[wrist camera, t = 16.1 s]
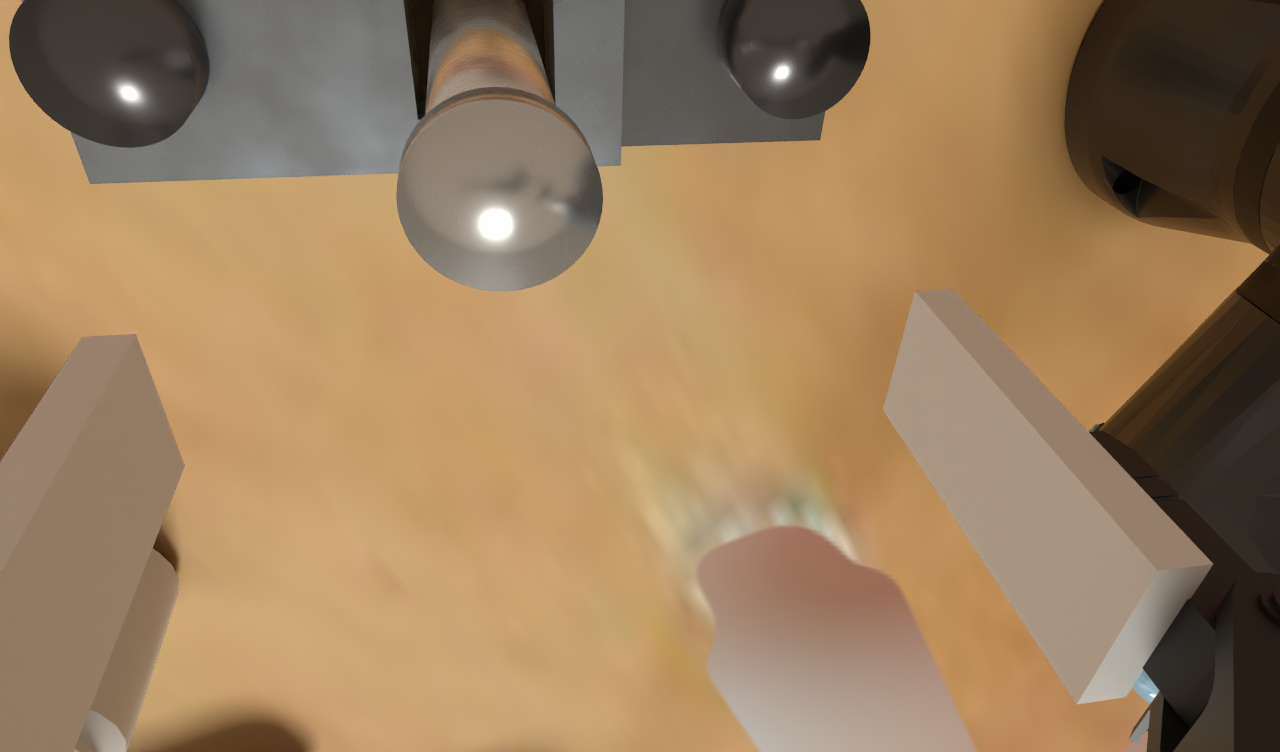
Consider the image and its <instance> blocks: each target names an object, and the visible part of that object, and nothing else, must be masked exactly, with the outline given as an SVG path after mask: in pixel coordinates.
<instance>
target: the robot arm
mask: <svg viewBox="0 0 1280 752" xmlns="http://www.w3.org/2000/svg"><path fill="white" fill-rule="evenodd" d="M1065 136H1066V143H1067V148H1068V152H1069V155H1070V158H1071V161H1072V164H1073V166H1074V168H1075V170H1076V172H1077V174H1078V175H1079V177H1080V178H1081V180H1082V181H1083V182H1084V184H1085V185H1086V186H1087V187H1088V188H1089V189H1090V190H1091V191H1092V192H1094V193H1095V194H1096V195H1097V196H1099V197H1100V198H1102V199H1103V200H1105V201H1106V202H1108V203H1109V204H1111V205H1112V206H1114V207H1115V208H1117V209H1118V210H1120V211H1121V212H1123V213H1124V214H1126V215H1128V216H1130V217H1132V218H1134V219H1136V220H1139V221H1141V222H1144V223H1147V224H1150V225H1154V226H1158V227H1164V228H1169V229H1174V230H1180V231H1185V232H1191V233H1196V234H1202V235H1207V236H1212V237H1218V238H1223V239H1229V240H1234V241H1240V242H1245V243H1250V244H1253V245H1254V246H1256V247H1258V248H1260V249H1261V250H1263V251H1264V252H1266V253H1268V254H1269V256H1268V257H1267V258H1266V259H1265V260H1264V261H1263V262H1262V264H1261V265H1260V266H1259V267H1258V268H1257V269H1256V270H1255V271H1254V272H1253V273H1252V274H1251V275H1250V276H1249V277H1248V278H1247V279H1246V280H1245V281H1244V282H1243V283H1242V284H1241V285H1240V286H1239V287H1238V288H1236V290H1234V291H1233V292H1232V293H1231V294H1230V295H1229V296H1228V297H1227V298H1226V299H1225V300H1224V301H1223V302H1222V303H1221V304H1220V306H1219V307H1218V308H1217V309H1216V310H1215V311H1214V312H1213V313H1212V314H1211V315H1210V316H1209V317H1208V318H1207V319H1206V320H1205V321H1204V322H1203V323H1202V324H1201V325H1200V326H1199V327H1198V328H1197V329H1196V330H1195V332H1194V333H1193V334H1192V335H1191V336H1190V337H1189V338H1188V339H1187V340H1186V341H1185V342H1184V343H1183V344H1182V345H1181V346H1180V347H1179V348H1178V349H1177V350H1176V351H1175V352H1174V353H1173V354H1172V355H1171V356H1170V358H1169V359H1168V360H1167V361H1166V362H1165V363H1164V364H1163V365H1162V366H1161V367H1160V368H1159V369H1158V370H1157V371H1156V372H1155V373H1154V374H1153V375H1152V376H1151V377H1150V378H1149V379H1148V380H1147V381H1146V382H1145V383H1144V384H1143V385H1142V386H1141V387H1140V388H1139V389H1138V390H1137V391H1136V392H1135V393H1134V394H1133V395H1132V396H1131V397H1130V398H1129V399H1128V400H1127V401H1126V403H1125V404H1124V405H1123V406H1122V407H1121V408H1120V409H1119V410H1118V411H1117V412H1116V413H1115V414H1114V415H1113V416H1112V417H1111V418H1110V419H1109V420H1108V421H1107V422H1106V423H1102V424H1099V425H1095V426H1094V427H1093V428H1091V429H1090V430H1089V432H1088V431H1087V430H1086V429H1085V428H1084V426H1083V425H1082V424H1081V423H1080V422H1079V421H1078V420H1077V419H1076V418H1075V417H1074V416H1073V415H1072V414H1071V413H1070V412H1069V411H1068V410H1067V409H1066V407H1065V406H1064V405H1063V404H1062V403H1061V402H1060V401H1059V400H1058V399H1057V398H1056V397H1055V396H1054V395H1053V394H1052V393H1051V392H1050V391H1049V389H1048V388H1047V387H1046V386H1045V385H1044V384H1043V383H1042V382H1041V381H1040V380H1039V379H1038V378H1037V377H1036V376H1035V375H1034V374H1033V373H1032V371H1031V370H1030V369H1029V368H1028V367H1027V366H1026V365H1025V364H1024V363H1023V362H1022V361H1021V360H1020V359H1019V358H1018V357H1017V356H1016V355H1015V353H1014V352H1013V351H1012V350H1011V349H1010V348H1009V347H1008V346H1007V345H1006V344H1005V343H1004V342H1003V341H1002V340H1001V339H1000V338H999V337H998V335H997V334H996V333H995V332H994V331H993V330H992V329H991V328H990V327H989V326H988V325H987V324H986V323H985V322H984V321H983V320H982V319H981V317H980V316H979V315H978V314H977V313H976V312H975V311H974V310H973V309H972V308H971V307H970V306H969V305H968V304H967V303H966V302H965V301H964V299H963V298H962V297H961V296H960V295H959V294H958V293H957V292H956V291H955V290H954V289H947V290H929V291H915V293H914V297H913V301H912V304H911V308H910V312H909V315H908V319H907V323H906V326H905V330H904V334H903V337H902V341H901V345H900V348H899V352H898V356H897V359H896V363H895V367H894V371H893V374H892V378H891V382H890V385H889V389H888V393H887V396H886V400H885V404H884V407H883V411H884V412H885V414H886V415H887V417H888V419H889V420H890V422H891V423H892V425H893V426H894V428H895V429H896V431H897V432H898V434H899V435H900V437H901V438H902V440H903V441H904V443H905V444H906V446H907V447H908V449H909V450H910V452H911V453H912V455H913V456H914V458H915V460H916V461H917V463H918V464H919V466H920V467H921V469H922V470H923V472H924V473H925V475H926V476H927V478H928V479H929V481H930V482H931V484H932V485H933V487H934V488H935V490H936V491H937V493H938V494H939V496H940V497H941V499H942V501H943V502H944V504H945V505H946V507H947V508H948V510H949V511H950V513H951V514H952V516H953V517H954V519H955V520H956V522H957V523H958V525H959V526H960V528H961V529H962V531H963V532H964V534H965V535H966V537H967V538H968V540H969V542H970V543H971V545H972V546H973V548H974V549H975V551H976V552H977V554H978V555H979V557H980V558H981V560H982V561H983V563H984V564H985V566H986V567H987V569H988V570H989V572H990V573H991V575H992V576H993V578H994V580H995V581H996V583H997V584H998V586H999V587H1000V589H1001V590H1002V592H1003V593H1004V595H1005V596H1006V598H1007V599H1008V601H1009V602H1010V604H1011V605H1012V607H1013V608H1014V610H1015V611H1016V613H1017V614H1018V616H1019V617H1020V619H1021V621H1022V622H1023V624H1024V625H1025V627H1026V628H1027V630H1028V631H1029V633H1030V634H1031V636H1032V637H1033V639H1034V640H1035V642H1036V643H1037V645H1038V646H1039V648H1040V649H1041V651H1042V652H1043V654H1044V655H1045V657H1046V658H1047V660H1048V662H1049V663H1050V665H1051V666H1052V668H1053V669H1054V671H1055V672H1056V674H1057V675H1058V677H1059V678H1060V680H1061V681H1062V683H1063V684H1064V686H1065V687H1066V689H1067V690H1068V692H1069V693H1070V695H1071V696H1072V698H1073V700H1074V701H1075V703H1076V704H1083V703H1090V702H1096V701H1103V700H1110V699H1117V698H1123V697H1126V696H1127V694H1128V693H1129V691H1130V690H1131V688H1133V689H1134V690H1135V691H1136V692H1137V693H1138V694H1139V695H1140V696H1141V697H1142V698H1143V699H1145V700H1146V701H1147V702H1148V703H1149V704H1150V705H1149V707H1148V708H1147V709H1146V711H1145V712H1144V714H1143V715H1142V717H1141V718H1140V720H1139V721H1138V722H1137V724H1136V725H1135V727H1134V728H1133V731H1132V733H1131V735H1130V738H1129V740H1131V741H1133V742H1135V743H1138V742H1139V740H1140V739H1141V738H1142V736H1143V735H1144V733H1145V732H1146V731H1148V742H1147V752H1280V0H1106V2H1105V4H1104V5H1103V7H1102V8H1101V10H1100V12H1099V13H1098V15H1097V17H1096V19H1095V20H1094V22H1093V24H1092V26H1091V28H1090V30H1089V32H1088V34H1087V36H1086V38H1085V40H1084V42H1083V45H1082V47H1081V49H1080V52H1079V54H1078V57H1077V60H1076V63H1075V66H1074V69H1073V72H1072V76H1071V79H1070V84H1069V88H1068V93H1067V99H1066V108H1065ZM184 466H185V465H184V462H183V460H182V457H181V454H180V452H179V449H178V446H177V444H176V441H175V438H174V435H173V433H172V430H171V427H170V425H169V422H168V419H167V417H166V414H165V411H164V409H163V406H162V403H161V401H160V398H159V395H158V393H157V390H156V387H155V384H154V382H153V379H152V376H151V374H150V371H149V368H148V366H147V363H146V360H145V358H144V355H143V352H142V350H141V347H140V344H139V341H138V339H137V336H136V334H128V335H110V336H92V337H82V338H81V340H80V341H79V343H78V344H77V346H76V347H75V349H74V350H73V352H72V353H71V355H70V356H69V358H68V359H67V361H66V362H65V364H64V366H63V367H62V369H61V370H60V372H59V373H58V375H57V376H56V378H55V379H54V381H53V382H52V384H51V385H50V387H49V388H48V390H47V391H46V393H45V395H44V396H43V398H42V399H41V401H40V402H39V404H38V405H37V407H36V408H35V410H34V411H33V413H32V414H31V416H30V417H29V419H28V420H27V422H26V423H25V425H24V427H23V428H22V430H21V431H20V433H19V434H18V436H17V437H16V439H15V440H14V442H13V443H12V445H11V446H10V448H9V449H8V451H7V452H6V454H5V456H4V457H3V459H2V460H1V462H0V752H73V751H74V749H75V746H76V744H77V741H78V738H79V736H80V733H81V731H82V728H83V726H84V723H85V721H86V718H87V715H88V713H89V710H90V708H91V705H92V703H93V700H94V697H95V695H96V692H97V690H98V687H99V685H100V682H101V679H102V677H103V674H104V672H105V669H106V667H107V664H108V661H109V659H110V656H111V654H112V651H113V649H114V646H115V643H116V641H117V638H118V636H119V633H120V631H121V628H122V625H123V623H124V620H125V618H126V615H127V613H128V610H129V607H130V605H131V602H132V600H133V597H134V595H135V592H136V589H137V587H138V584H139V582H140V579H141V577H142V574H143V571H144V569H145V566H146V564H147V561H148V559H149V556H150V553H151V551H152V548H153V546H154V543H155V541H156V538H157V535H158V533H159V530H160V528H161V525H162V523H163V520H164V517H165V515H166V512H167V510H168V507H169V505H170V502H171V499H172V497H173V494H174V492H175V489H176V487H177V484H178V482H179V479H180V476H181V474H182V471H183V469H184Z"/></svg>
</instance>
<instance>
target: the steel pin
mask: <svg viewBox="0 0 1280 752" xmlns="http://www.w3.org/2000/svg"><path fill="white" fill-rule="evenodd" d="M602 204H603V193H602V184H601V179H600V174H599V171H598V168H597V166H596V163H595V160H594V157H593V154H592V152H591V149H590V146H589V144H588V142H587V140H586V138H585V136H584V135H583V133H582V132H581V130H580V129H579V128H578V126H577V125H576V124H575V123H574V121H573V120H572V119H571V118H570V117H569V116H568V115H567V114H566V113H565V112H563V111H562V110H561V109H560V108H559V107H557V106H556V105H555V102H554V99H553V96H552V92H551V89H550V86H549V83H548V79H547V76H546V73H545V70H544V66H543V63H542V60H541V56H540V53H539V50H538V47H537V43H536V40H535V37H534V34H533V30H532V27H531V24H530V20H529V17H528V14H527V11H526V7H525V4H524V1H523V0H434V2H433V9H432V24H431V39H430V54H429V69H428V84H427V99H426V114H425V116H424V117H423V118H422V119H421V120H420V121H419V122H418V124H417V125H416V126H415V128H414V129H413V131H412V132H411V134H410V136H409V138H408V139H407V142H406V144H405V147H404V149H403V152H402V156H401V161H400V165H399V174H398V182H397V208H398V213H399V217H400V221H401V224H402V227H403V229H404V232H405V234H406V236H407V237H408V239H409V241H410V243H411V244H412V246H413V247H414V249H415V250H416V251H417V253H418V254H419V255H420V256H421V257H422V258H423V259H424V260H425V261H426V262H427V263H428V264H429V265H430V266H431V267H433V268H434V269H435V270H436V271H438V272H439V273H441V274H442V275H444V276H445V277H447V278H449V279H451V280H453V281H455V282H457V283H460V284H463V285H465V286H468V287H472V288H476V289H480V290H487V291H515V290H522V289H526V288H531V287H534V286H537V285H540V284H543V283H545V282H547V281H549V280H551V279H553V278H555V277H557V276H558V275H560V274H561V273H563V272H564V271H566V270H567V269H568V268H569V267H570V266H572V265H573V264H574V263H575V262H576V261H577V260H578V259H579V258H580V257H581V255H582V254H583V253H584V252H585V250H586V249H587V247H588V246H589V245H590V243H591V241H592V239H593V237H594V235H595V233H596V230H597V228H598V225H599V222H600V217H601V213H602Z"/></svg>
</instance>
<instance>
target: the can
mask: <svg viewBox="0 0 1280 752" xmlns="http://www.w3.org/2000/svg"><path fill="white" fill-rule="evenodd" d="M178 584H179V579H178V577H177V575H176V572H175V570H174V568H173V566H172V565H171V564H170V563H169V562H168V561H167V560H166V559H165V558H164V557H163V556H162V555H161V554H160V553H159V552H158V551H156V550H155V549H154V548H152V551H151V553H150V556H149V559H148V561H147V564H146V566H145V569H144V571H143V574H142V577H141V579H140V582H139V584H138V587H137V589H136V592H135V595H134V597H133V600H132V602H131V605H130V607H129V610H128V613H127V615H126V618H125V620H124V623H123V625H122V628H121V631H120V633H119V636H118V638H117V641H116V643H115V646H114V649H113V651H112V654H111V656H110V659H109V661H108V664H107V667H106V669H105V672H104V674H103V677H102V679H101V682H100V685H99V687H98V690H97V692H96V695H95V697H94V700H93V703H92V705H91V708H90V710H89V713H88V715H87V718H86V721H85V723H84V726H83V728H82V731H81V733H80V736H79V738H78V741H77V744H76V746H75V749H74V751H73V752H127V749H128V746H129V743H130V740H131V737H132V734H133V731H134V728H135V724H136V721H137V718H138V715H139V712H140V709H141V706H142V703H143V700H144V697H145V694H146V691H147V688H148V684H149V681H150V678H151V675H152V672H153V669H154V666H155V663H156V660H157V657H158V654H159V651H160V648H161V644H162V641H163V638H164V635H165V632H166V629H167V626H168V623H169V620H170V617H171V614H172V611H173V608H174V604H175V601H176V598H177V595H178Z"/></svg>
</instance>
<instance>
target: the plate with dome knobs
mask: <svg viewBox="0 0 1280 752" xmlns="http://www.w3.org/2000/svg"><path fill="white" fill-rule="evenodd" d="M544 34H545V69H546V76H547V79H548V83H549V86H550V89H551V92H552V96H553V99H554V102H555V105H556V106H557V107H559V108H560V109H561V110H562V111H563V112H565V113H566V114H567V115H568V116H569V117H570V118H571V119H572V120H573V121H574V123H575V124H576V125H577V126H578V128H579V129H580V130H581V132H582V133H583V135H584V136H585V138H586V140H587V142H588V144H589V146H590V149H591V152H592V154H593V157H594V160H595V163H596V166H616V165H621V146H647V145H679V144H711V143H743V142H775V141H807V140H820V138H821V132H822V126H823V120H824V114H825V111H826V110H828V109H829V108H831V107H832V106H834V105H835V104H836V103H838V102H839V101H840V100H841V99H842V98H843V97H844V96H845V95H846V94H847V93H848V92H849V91H850V90H851V88H852V87H853V86H854V84H855V83H856V81H857V80H858V78H859V76H860V74H861V72H862V70H863V68H864V66H865V63H866V60H867V56H868V53H869V47H870V25H869V20H868V16H867V13H866V10H865V8H864V6H863V4H862V2H861V1H860V0H544ZM9 44H10V53H11V59H12V62H13V65H14V68H15V71H16V73H17V75H18V77H19V79H20V82H21V83H22V85H23V86H24V88H25V90H26V91H27V93H28V94H29V95H30V97H31V98H32V99H33V100H34V102H35V103H36V104H37V105H38V106H39V107H40V108H41V109H42V110H43V111H44V112H45V113H46V114H47V115H48V116H49V117H51V118H52V119H53V120H54V121H56V122H57V123H58V124H60V125H61V126H63V127H64V128H66V129H68V130H69V131H71V134H72V137H73V139H74V142H75V145H76V147H77V150H78V153H79V155H80V158H81V161H82V164H83V166H84V169H85V172H86V174H87V177H88V180H89V182H90V184H102V183H131V182H159V181H188V180H217V179H245V178H274V177H302V176H331V175H359V174H388V173H399V165H400V161H401V156H402V152H403V149H404V147H405V144H406V142H407V139H408V138H409V136H410V134H411V132H412V131H413V129H414V128H415V126H416V125H417V124H418V122H419V121H420V120H421V119H422V118H423V117H424V116H425V114H426V99H427V85H421V83H420V74H419V66H418V57H417V49H416V40H415V31H414V23H413V14H412V6H411V0H22V4H21V5H20V7H19V8H18V10H17V12H16V14H15V15H14V18H13V21H12V24H11V28H10V35H9Z"/></svg>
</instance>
